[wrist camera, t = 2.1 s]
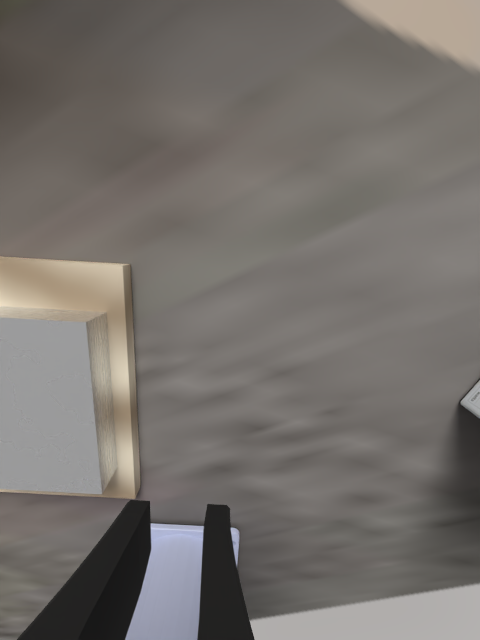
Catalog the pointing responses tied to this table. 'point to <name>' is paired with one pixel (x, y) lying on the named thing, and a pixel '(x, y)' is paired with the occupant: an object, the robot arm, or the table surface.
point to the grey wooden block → (55, 401)
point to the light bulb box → (473, 400)
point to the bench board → (116, 300)
